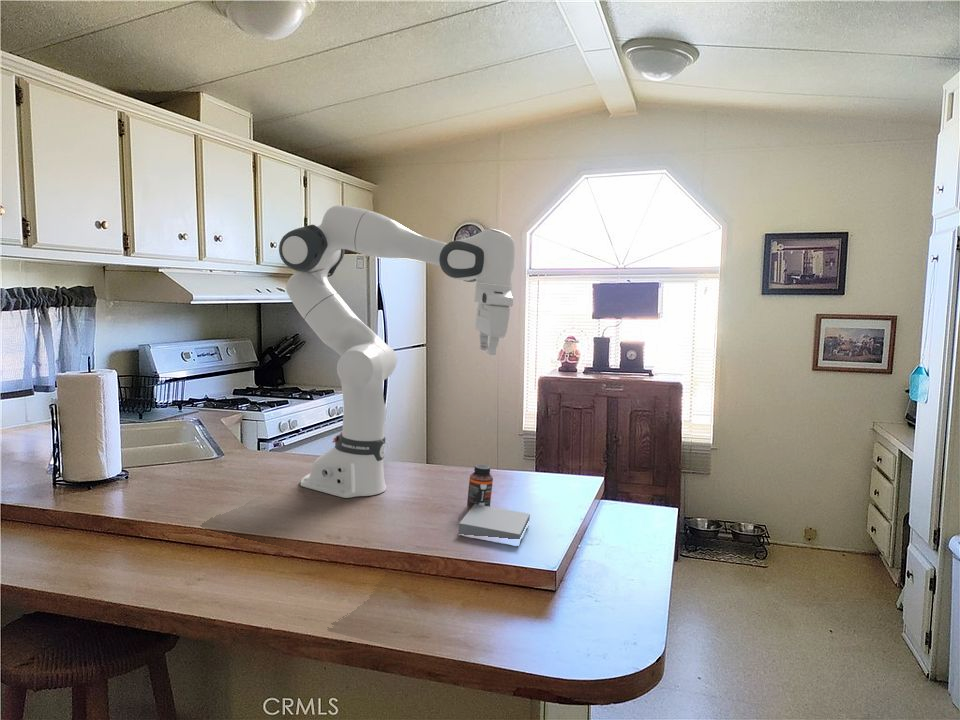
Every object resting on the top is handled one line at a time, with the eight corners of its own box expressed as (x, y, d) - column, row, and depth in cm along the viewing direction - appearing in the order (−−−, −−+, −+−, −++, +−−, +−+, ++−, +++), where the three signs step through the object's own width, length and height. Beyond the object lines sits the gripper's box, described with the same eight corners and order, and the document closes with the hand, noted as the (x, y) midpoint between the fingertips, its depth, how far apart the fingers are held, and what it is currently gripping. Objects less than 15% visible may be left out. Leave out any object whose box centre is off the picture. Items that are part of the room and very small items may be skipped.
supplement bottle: (487, 515, 161) (491, 471, 159) (464, 511, 162) (468, 467, 160) (491, 507, 166) (496, 465, 165) (469, 503, 168) (473, 461, 166)
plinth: (458, 535, 146) (459, 523, 145) (473, 515, 159) (474, 503, 159) (518, 547, 143) (519, 534, 142) (528, 525, 156) (530, 513, 156)
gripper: (472, 293, 167) (467, 346, 169) (488, 297, 147) (483, 356, 149) (495, 296, 168) (490, 348, 170) (515, 299, 148) (509, 358, 150)
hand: (487, 352), depth 159 cm, fingers open, 8 cm apart
